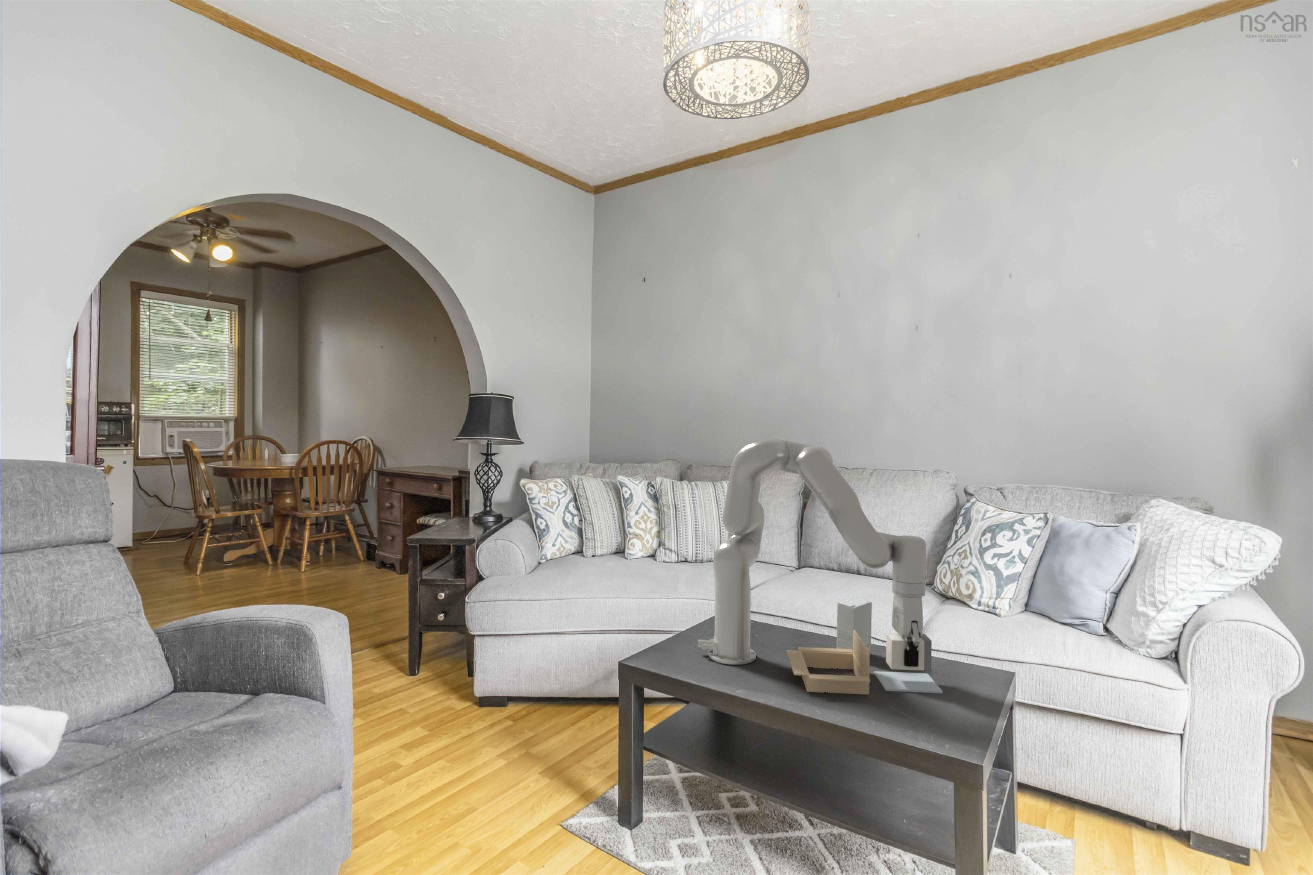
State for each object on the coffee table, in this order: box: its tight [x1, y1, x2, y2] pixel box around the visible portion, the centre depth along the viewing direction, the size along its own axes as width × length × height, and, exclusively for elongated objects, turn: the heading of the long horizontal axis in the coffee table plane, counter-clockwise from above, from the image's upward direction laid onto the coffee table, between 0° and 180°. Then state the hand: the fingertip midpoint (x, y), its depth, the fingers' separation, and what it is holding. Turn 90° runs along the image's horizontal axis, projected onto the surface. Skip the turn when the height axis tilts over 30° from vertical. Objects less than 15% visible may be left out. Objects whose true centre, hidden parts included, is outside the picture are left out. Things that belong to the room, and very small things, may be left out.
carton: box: [786, 630, 871, 695], centre depth 162 cm, size 17×21×10 cm
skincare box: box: [835, 596, 873, 655], centre depth 179 cm, size 8×6×15 cm
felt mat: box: [873, 670, 943, 694], centre depth 160 cm, size 13×11×1 cm
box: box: [885, 633, 933, 672], centre depth 160 cm, size 9×5×7 cm, turn 85°
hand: (907, 660), depth 160 cm, fingers closed on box, 5 cm apart
